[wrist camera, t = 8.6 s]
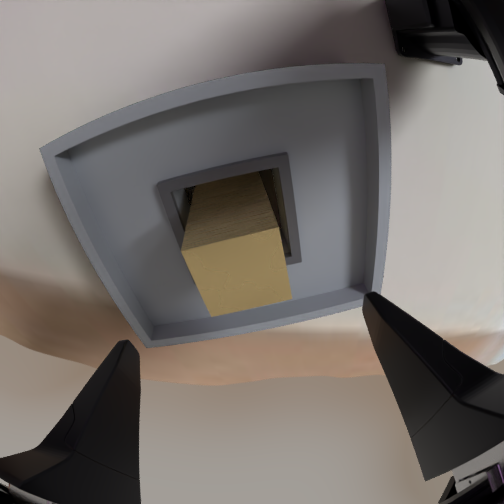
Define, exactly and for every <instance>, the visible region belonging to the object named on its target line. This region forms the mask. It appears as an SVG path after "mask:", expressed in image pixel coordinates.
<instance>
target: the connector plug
mask: <svg viewBox="0 0 504 504" xmlns="http://www.w3.org/2000/svg"><path fill="white" fill-rule="evenodd" d="M181 253H182V255H183V257H184V259H185V262H186V264H187V266H188V268H189V271H190V273H191V275H192V277H193V279H194V282H195V284H196V286H197V288H198V290H199V292H200V294H201V297H202V299H203V301H204V303H205V305H206V307H207V309H208V311H209V313H210V315H211V317H214V316H219V315H224V314H229V313H233V312H238V311H242V310H247V309H252V308H256V307H260V306H265V305H269V304H273V303H277V302H282V301H286V300H290V299H292V294H291V288H290V283H289V277H288V272H287V267H286V261H285V256H284V251H283V246H282V241H281V236H280V231H279V226H278V224H277V221H276V218H275V215H274V213H273V210H272V207H271V204H270V202H269V199H268V196H267V194H266V191H265V188H264V186H263V183H262V180H261V178H260V175H259V172H258V171H256V172H252V173H247V174H242V175H238V176H233V177H229V178H224V179H220V180H216V181H211V182H207V183H203V184H199V185H195V189H194V194H193V198H192V202H191V207H190V211H189V216H188V220H187V225H186V230H185V234H184V239H183V244H182V249H181Z"/></svg>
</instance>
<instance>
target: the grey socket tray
mask: <svg viewBox="0 0 504 504" xmlns="http://www.w3.org/2000/svg"><path fill="white" fill-rule="evenodd" d="M39 149H40V152H41V155H42V158H43V160H44V163H45V166H46V168H47V171H48V174H49V176H50V179H51V181H52V184H53V186H54V188H55V191H56V193H57V195H58V198H59V200H60V202H61V204H62V207H63V209H64V211H65V213H66V215H67V217H68V220H69V222H70V224H71V226H72V228H73V230H74V232H75V234H76V236H77V238H78V240H79V242H80V244H81V245H82V247H83V249H84V251H85V253H86V255H87V257H88V258H89V260H90V262H91V264H92V266H93V267H94V269H95V271H96V273H97V274H98V276H99V278H100V279H101V281H102V283H103V284H104V286H105V288H106V289H107V291H108V292H109V294H110V296H111V297H112V299H113V300H114V302H115V304H116V305H117V307H118V308H119V310H120V311H121V313H122V314H123V316H124V317H125V319H126V320H127V322H128V323H129V324H130V326H131V327H132V329H133V330H134V332H135V333H136V334H137V336H138V337H139V339H140V340H141V341H142V343H143V344H144V345H145V347H146V348H152V347H160V346H168V345H176V344H183V343H190V342H197V341H204V340H210V339H216V338H222V337H228V336H234V335H239V334H245V333H250V332H255V331H260V330H265V329H270V328H275V327H280V326H284V325H289V324H293V323H298V322H302V321H307V320H311V319H315V318H319V317H323V316H327V315H331V314H335V313H339V312H343V311H347V310H350V309H354V308H358V307H361V306H363V298H364V294H365V293H369V292H372V291H375V292H377V293H379V294H381V288H382V282H383V274H384V267H385V259H386V250H387V240H388V229H389V216H390V198H391V127H390V110H389V97H388V87H387V77H386V69H385V64H374V63H338V64H317V65H304V66H293V67H284V68H276V69H269V70H262V71H256V72H250V73H244V74H239V75H234V76H229V77H224V78H220V79H215V80H211V81H207V82H203V83H199V84H195V85H191V86H187V87H184V88H180V89H177V90H174V91H170V92H167V93H164V94H161V95H158V96H155V97H152V98H149V99H146V100H143V101H140V102H137V103H135V104H132V105H129V106H127V107H124V108H122V109H119V110H117V111H114V112H112V113H109V114H107V115H105V116H102V117H100V118H98V119H96V120H93V121H91V122H89V123H87V124H85V125H83V126H81V127H79V128H77V129H75V130H73V131H71V132H69V133H67V134H65V135H63V136H61V137H59V138H57V139H55V140H53V141H52V142H50V143H48V144H46V145H45V146H43V147H41V148H39ZM271 168H272V174H273V180H274V185H275V191H276V197H277V203H278V209H279V215H280V222H281V228H282V229H279V231H280V236H281V241H282V246H283V251H284V256H285V261H286V267H287V272H288V277H289V283H290V288H291V294H292V299H290V300H286V301H282V302H277V303H273V304H269V305H265V306H260V307H256V308H252V309H247V310H242V311H238V312H233V313H229V314H224V315H219V316H214V317H211V315H210V313H209V311H208V309H207V307H206V305H205V303H204V301H203V299H202V297H201V294H200V292H199V290H198V288H197V286H196V284H195V282H194V279H193V277H192V275H191V273H190V271H189V268H188V266H187V264H186V262H185V259H184V257H183V255H182V253H181V249H182V244H183V239H184V234H185V230H186V225H187V220H188V216H189V211H190V204H189V201H188V198H187V195H186V192H185V189H184V188H187V187H191V186H195V185H199V184H203V183H207V182H211V181H216V180H220V179H224V178H229V177H233V176H238V175H242V174H247V173H252V172H256V171H261V170H266V169H271Z"/></svg>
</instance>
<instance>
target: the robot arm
mask: <svg viewBox="0 0 504 504" xmlns="http://www.w3.org/2000/svg"><path fill="white" fill-rule="evenodd" d="M385 1H386V5H387V10H388V14H389V19H390V23H391V27H392V30H393V35H394V41H395V47H396V51H397V53H398V54H399V55H400V56H402V57H410V58H419V59H426V60H433V61H439V62H444V63H450V64H455V65H461V64H462V58H470V59H478V60H485V61H488V63H489V65H490V67H491V69H492V72H493V74H494V76H495V78H496V81H497V86H498V89H499V91H500V93H501V94H503V95H504V0H385ZM402 47H403V48H404V50H405V52H403V51H402ZM456 57H457V59H456ZM362 312H363V316H364V319H365V322H366V325H367V328H368V331H369V334H370V337H371V340H372V343H373V346H374V349H375V352H376V354H377V356H378V358H379V361H380V363H381V365H382V368H383V370H384V372H385V375H386V377H387V379H388V382H389V384H390V386H391V389H392V391H393V394H394V396H395V399H396V401H397V404H398V406H399V409H400V411H401V414H402V416H403V419H404V422H405V424H406V427H407V430H408V432H409V435H410V438H411V441H412V444H413V446H414V449H415V452H416V455H417V458H418V461H419V464H420V467H421V470H422V473H423V477H424V479H425V481H427V480H430V479H432V478H435V477H437V476H439V475H441V474H444V473H446V472H448V471H450V470H452V472H453V475H454V476H452V477H451V479H450V480H449V483H448V485H447V487H446V489H445V491H444V493H443V495H442V496H441V498H440V500H439V502H438V503H439V504H504V374H500V373H497V372H495V371H493V370H491V369H490V368H488V367H486V366H485V365H483V364H481V363H480V362H478V361H476V360H475V359H473V358H471V357H469V356H468V355H466V354H465V353H463V352H461V351H460V350H458V349H457V348H456V347H454V346H453V345H451V344H450V343H449V342H447V341H446V340H443V338H441V337H440V336H439V335H437V334H436V333H435V332H433V331H432V330H430V329H429V328H428V327H426V326H425V325H423V324H422V323H421V322H419V321H418V320H416V319H415V318H413V317H412V316H411V315H409V314H408V313H406V312H405V311H403V310H402V309H400V308H399V307H398V306H396V305H395V304H393V303H392V302H390V301H389V300H387V299H386V298H384V297H383V296H382V295H380V294H379V293H377V292H375V291H372V292H369V293H365V294H364V298H363V307H362ZM140 394H141V386H140V356H139V353H138V351H137V350H136V348H135V347H134V346H133V344H132V343H131V342H130V341H129V340H121V341H119V342H118V343H117V344H116V345H115V347H114V348H113V349H112V350H111V352H110V353H109V354H108V356H107V357H106V358H105V360H104V361H103V362H102V363H101V365H100V366H99V367H98V369H97V370H96V371H95V373H94V374H93V375H92V377H91V378H90V379H89V381H88V382H87V384H86V385H85V386H84V388H83V389H82V391H81V392H80V393H79V394H78V396H77V397H76V399H75V400H74V401H73V404H71V406H70V407H69V408H68V410H67V411H66V413H65V414H64V415H63V417H62V418H61V419H60V420H59V422H58V423H57V424H56V425H55V427H54V428H53V429H52V430H51V431H50V433H49V434H48V435H47V436H46V438H45V439H44V440H43V441H42V442H41V444H40V445H38V446H37V447H36V448H34V449H32V450H29V451H25V452H22V453H18V454H14V455H11V456H7V457H3V458H0V478H1V479H3V480H4V481H6V482H8V483H9V487H8V486H6V485H3V484H1V483H0V504H141V497H140V480H139V479H140V478H139V416H140V415H139V414H140Z"/></svg>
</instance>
